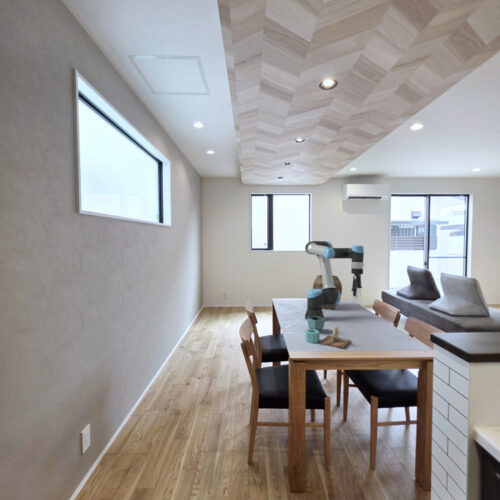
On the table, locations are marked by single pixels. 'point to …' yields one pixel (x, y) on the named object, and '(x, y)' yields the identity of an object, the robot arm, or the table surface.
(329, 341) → the post stand
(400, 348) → the table surface
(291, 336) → the table surface
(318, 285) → the vase
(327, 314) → the table surface
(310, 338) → the ring
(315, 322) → the flower pot
